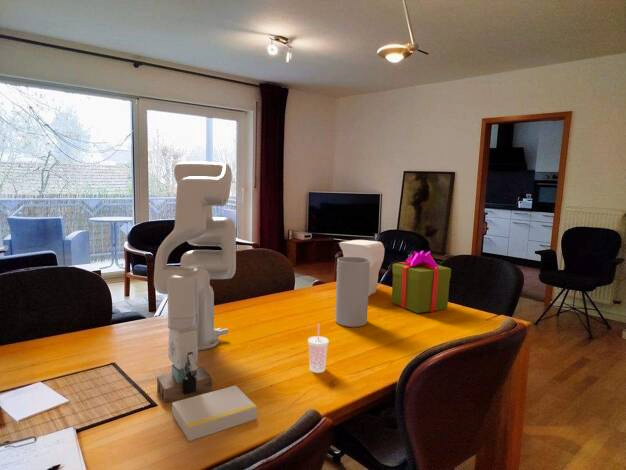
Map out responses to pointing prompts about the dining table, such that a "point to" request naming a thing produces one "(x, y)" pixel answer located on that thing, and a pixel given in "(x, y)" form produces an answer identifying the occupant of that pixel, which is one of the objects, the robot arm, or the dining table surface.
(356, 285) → the cylinder vase
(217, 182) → the robot arm
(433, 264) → the gift box
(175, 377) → the teal block
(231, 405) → the block
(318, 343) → the beverage cup
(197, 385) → the pallet
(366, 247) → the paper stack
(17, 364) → the dining table surface
